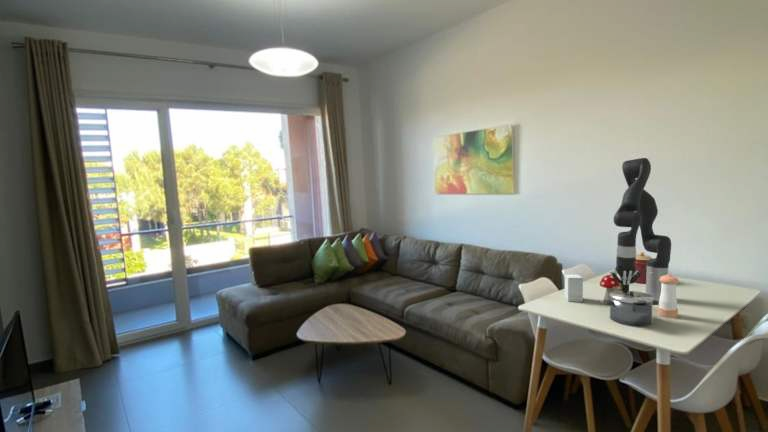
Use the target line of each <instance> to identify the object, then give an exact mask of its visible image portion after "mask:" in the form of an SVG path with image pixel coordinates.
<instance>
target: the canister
mask: <svg viewBox="0 0 768 432" xmlns="http://www.w3.org/2000/svg"><path fill="white" fill-rule="evenodd" d="M649 259H654V258H653V257H652V256H650V255H647V254H645V253H644V251H640V252H639V253H638V254H636V265H635V268H636V271H638V272H640V273H641V275H640V277H639V278H638V279H637V280H636V281H635V282H634V283H635V284H636V283H637V284H646V273H647V260H649ZM633 275H634V274H633ZM633 275H632V276H633ZM632 276H631V277H632Z"/></svg>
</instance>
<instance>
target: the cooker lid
mask: <svg viewBox="0 0 768 432" xmlns="http://www.w3.org/2000/svg"><path fill="white" fill-rule="evenodd" d="M613 290H615V291H612V292H610V298H612V299H614V300H617V301H620V302H625V303H632V304H648V303H652V302H653V296H651V295H649V294H646V292H642V291H635V290H629V291H628V293H624V292H622V291H621V287H620V286H613Z"/></svg>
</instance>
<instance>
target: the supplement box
mask: <svg viewBox="0 0 768 432" xmlns="http://www.w3.org/2000/svg"><path fill="white" fill-rule="evenodd" d="M583 282H584V278H583V277H582V276H581V275H580V274H564V299H566V301H567V302H575V303H576V302H577V303H578V302H580V303H581V302H584V301H583V300H584V295H583V293H584V291H583V290H584V283H583Z"/></svg>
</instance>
